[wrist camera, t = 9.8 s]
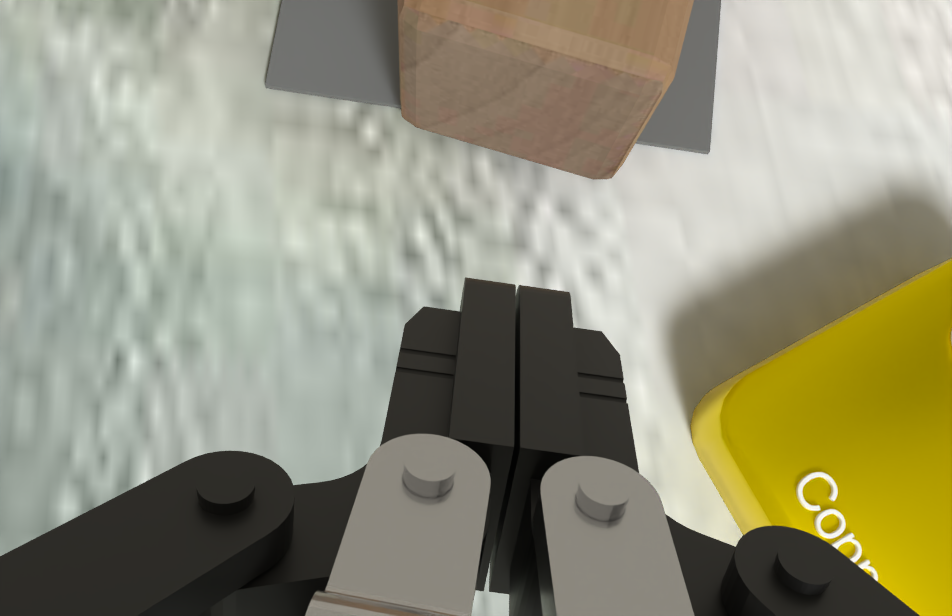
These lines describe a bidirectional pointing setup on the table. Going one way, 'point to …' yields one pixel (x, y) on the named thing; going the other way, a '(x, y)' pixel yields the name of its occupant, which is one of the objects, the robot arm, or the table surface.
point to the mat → (377, 63)
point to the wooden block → (540, 74)
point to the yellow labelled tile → (850, 439)
